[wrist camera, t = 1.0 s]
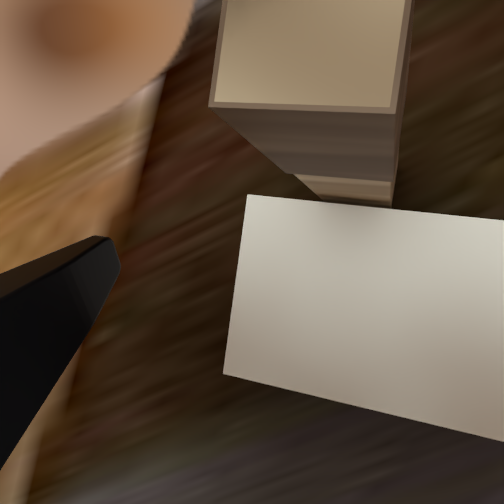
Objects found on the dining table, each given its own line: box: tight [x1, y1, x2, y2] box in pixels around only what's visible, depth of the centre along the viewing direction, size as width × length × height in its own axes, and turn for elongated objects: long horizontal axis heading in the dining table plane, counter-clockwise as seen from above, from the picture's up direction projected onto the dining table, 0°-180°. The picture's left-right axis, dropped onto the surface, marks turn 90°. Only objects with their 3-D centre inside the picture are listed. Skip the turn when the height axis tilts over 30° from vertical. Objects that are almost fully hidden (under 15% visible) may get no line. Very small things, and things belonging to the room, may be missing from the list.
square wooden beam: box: [208, 0, 415, 209], centre depth 14 cm, size 9×9×15 cm
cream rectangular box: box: [223, 195, 504, 442], centre depth 19 cm, size 8×14×4 cm, turn 82°
